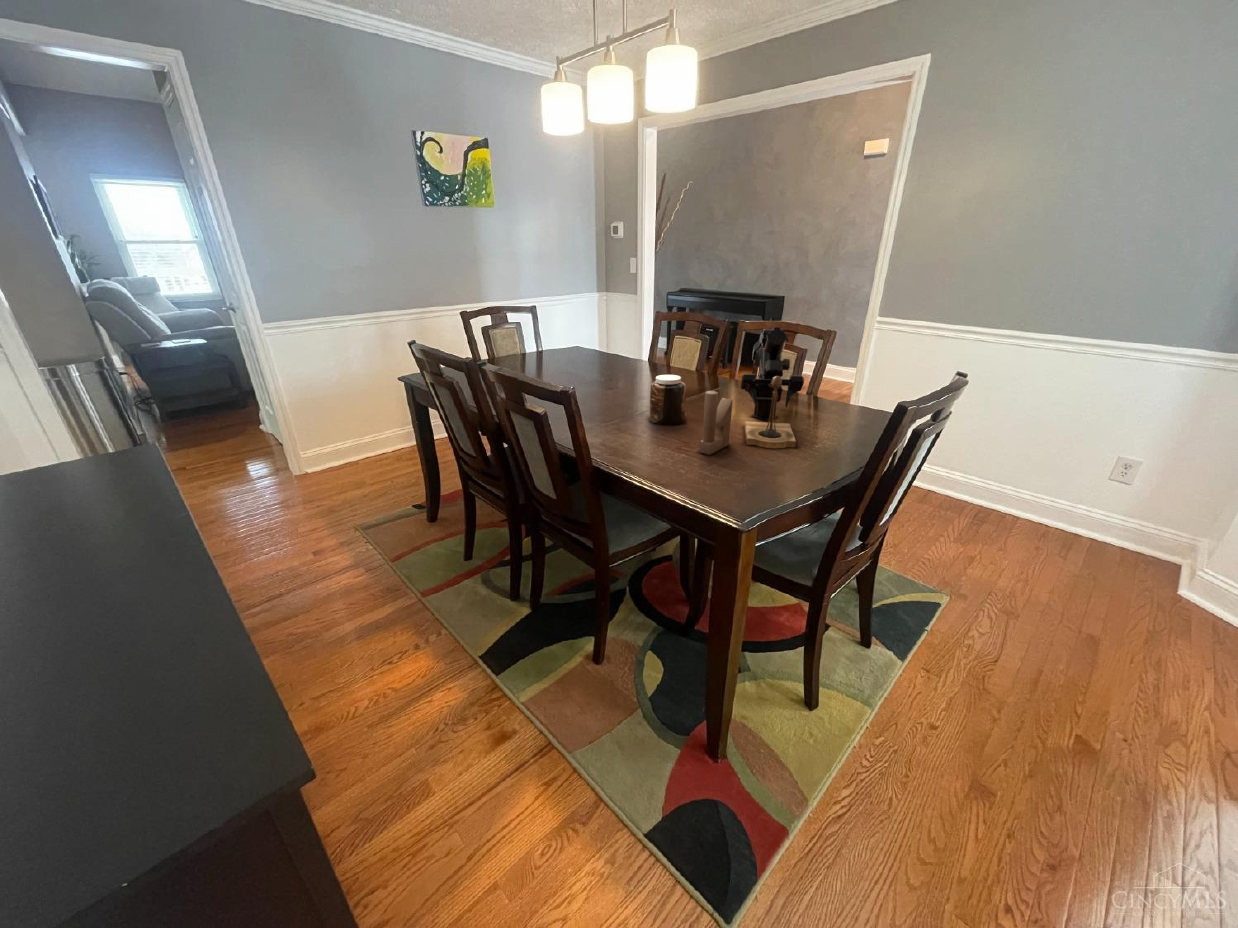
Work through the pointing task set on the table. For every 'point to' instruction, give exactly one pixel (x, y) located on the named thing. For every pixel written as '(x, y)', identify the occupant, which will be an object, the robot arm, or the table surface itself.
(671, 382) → the jar
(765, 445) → the wooden board with hole
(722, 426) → the beige post stand
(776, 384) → the wooden tabletop sculpture
